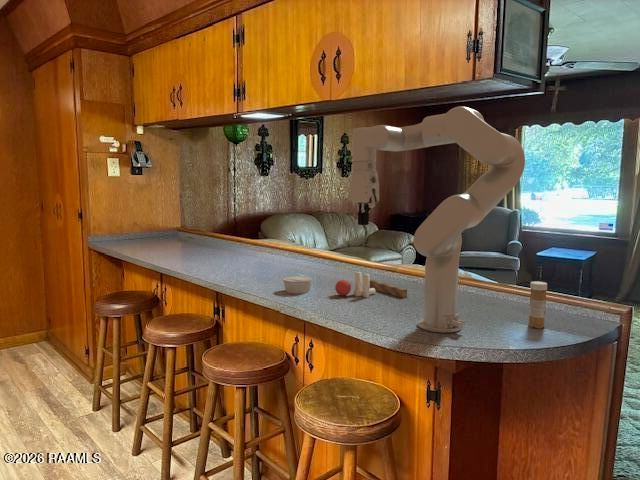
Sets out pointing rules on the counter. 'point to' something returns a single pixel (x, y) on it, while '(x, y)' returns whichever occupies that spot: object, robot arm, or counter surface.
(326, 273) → the counter surface
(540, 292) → the sprinkles bottle
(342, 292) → the ball
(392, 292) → the walnut rail
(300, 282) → the ramekin
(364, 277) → the near pin
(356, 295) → the front pin
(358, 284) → the far pin
